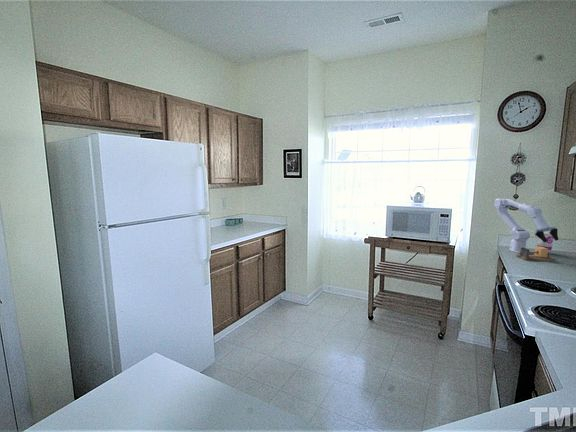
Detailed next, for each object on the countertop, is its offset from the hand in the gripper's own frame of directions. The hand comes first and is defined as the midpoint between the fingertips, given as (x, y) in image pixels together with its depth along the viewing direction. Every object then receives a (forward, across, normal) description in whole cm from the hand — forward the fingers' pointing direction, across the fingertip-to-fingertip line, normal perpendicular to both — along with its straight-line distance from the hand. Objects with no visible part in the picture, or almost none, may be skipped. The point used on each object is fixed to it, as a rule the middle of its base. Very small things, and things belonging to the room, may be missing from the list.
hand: (551, 240), depth 206 cm
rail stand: (+8, -8, +10) cm, 15 cm away
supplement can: (+1, +10, +25) cm, 27 cm away
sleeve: (+7, -5, +9) cm, 12 cm away
